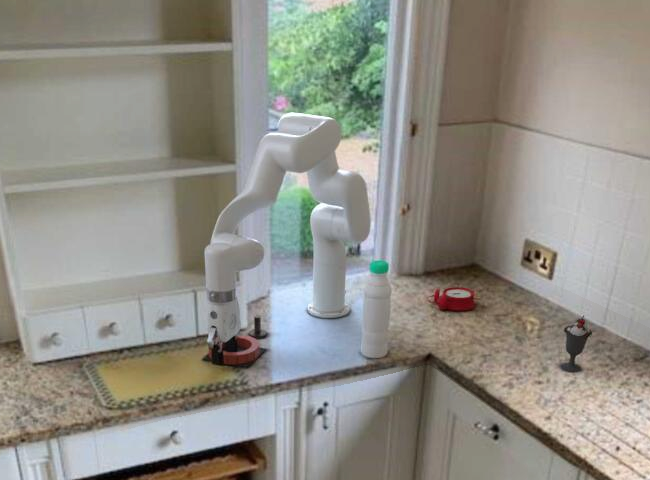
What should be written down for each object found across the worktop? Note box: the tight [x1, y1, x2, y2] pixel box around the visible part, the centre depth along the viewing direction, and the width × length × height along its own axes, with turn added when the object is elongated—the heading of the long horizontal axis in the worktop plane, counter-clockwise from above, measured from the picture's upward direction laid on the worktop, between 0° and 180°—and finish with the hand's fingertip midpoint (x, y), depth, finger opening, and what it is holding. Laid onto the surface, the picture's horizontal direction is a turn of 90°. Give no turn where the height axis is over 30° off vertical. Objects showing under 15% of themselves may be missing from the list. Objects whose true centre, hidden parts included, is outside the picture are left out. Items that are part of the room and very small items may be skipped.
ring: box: [207, 334, 260, 365], centre depth 212 cm, size 13×13×3 cm
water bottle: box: [360, 259, 393, 359], centre depth 206 cm, size 7×7×25 cm
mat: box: [202, 346, 267, 369], centre depth 213 cm, size 12×13×1 cm
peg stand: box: [248, 314, 267, 339], centre depth 223 cm, size 5×5×6 cm
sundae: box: [560, 314, 593, 373], centre depth 200 cm, size 7×7×15 cm
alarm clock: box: [426, 286, 482, 312], centre depth 240 cm, size 10×6×15 cm
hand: (224, 358), depth 208 cm, fingers open, 7 cm apart
